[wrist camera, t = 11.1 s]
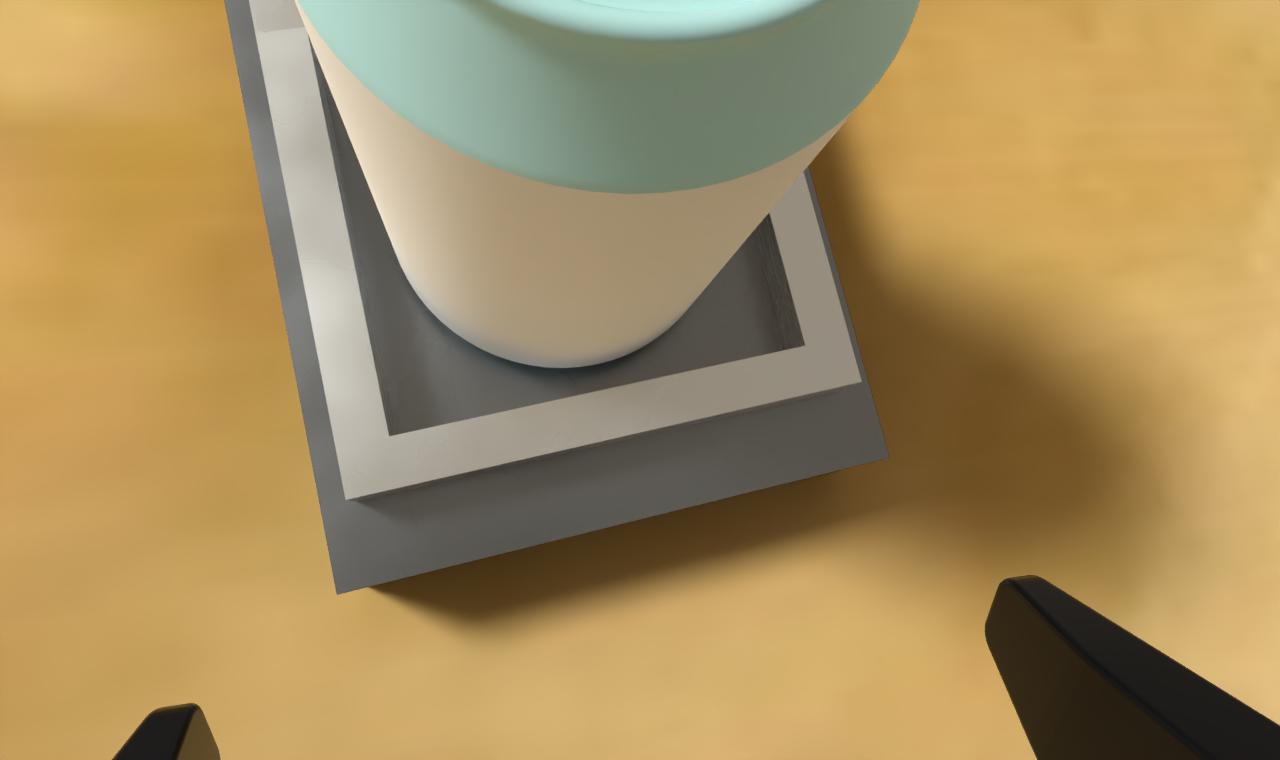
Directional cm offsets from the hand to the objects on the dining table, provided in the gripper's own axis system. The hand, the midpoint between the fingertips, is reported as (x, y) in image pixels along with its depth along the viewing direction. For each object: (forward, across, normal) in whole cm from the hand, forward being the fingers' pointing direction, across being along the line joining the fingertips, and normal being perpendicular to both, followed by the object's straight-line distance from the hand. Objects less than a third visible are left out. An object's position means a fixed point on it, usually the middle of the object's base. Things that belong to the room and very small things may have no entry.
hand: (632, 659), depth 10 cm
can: (+12, -1, 0) cm, 12 cm away
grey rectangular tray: (+14, -1, +2) cm, 14 cm away
